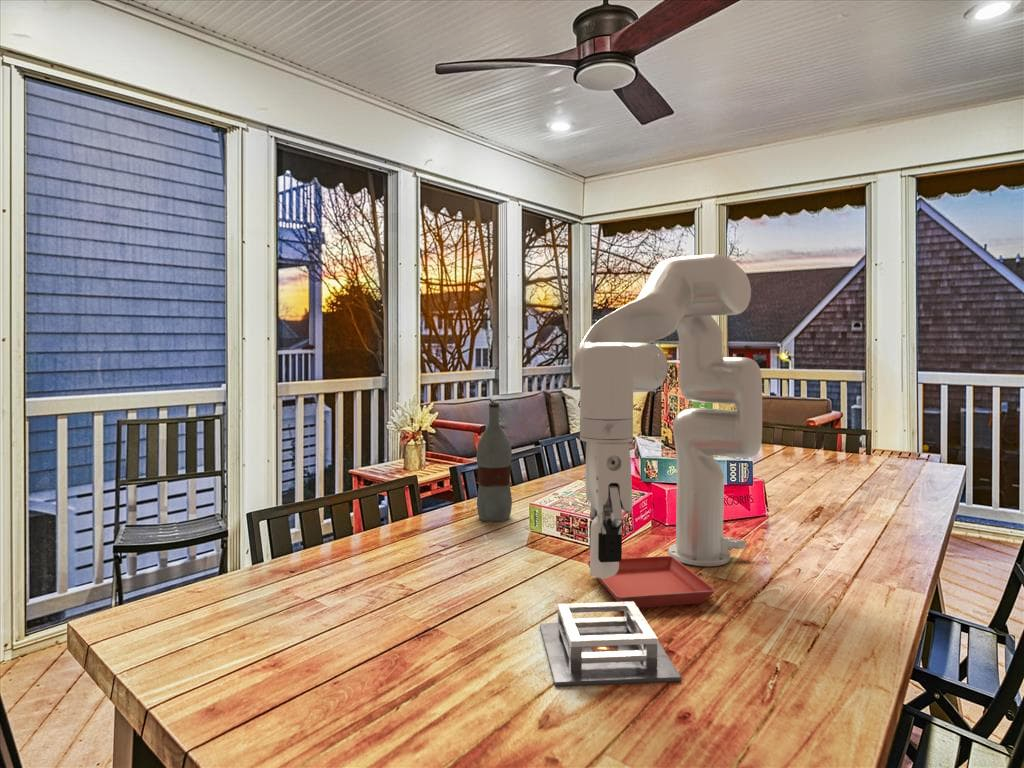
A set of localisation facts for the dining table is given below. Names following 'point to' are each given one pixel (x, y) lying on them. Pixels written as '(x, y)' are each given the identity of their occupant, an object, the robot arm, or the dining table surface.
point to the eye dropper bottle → (596, 566)
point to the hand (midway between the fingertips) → (604, 552)
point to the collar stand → (605, 647)
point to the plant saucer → (656, 582)
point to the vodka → (494, 470)
